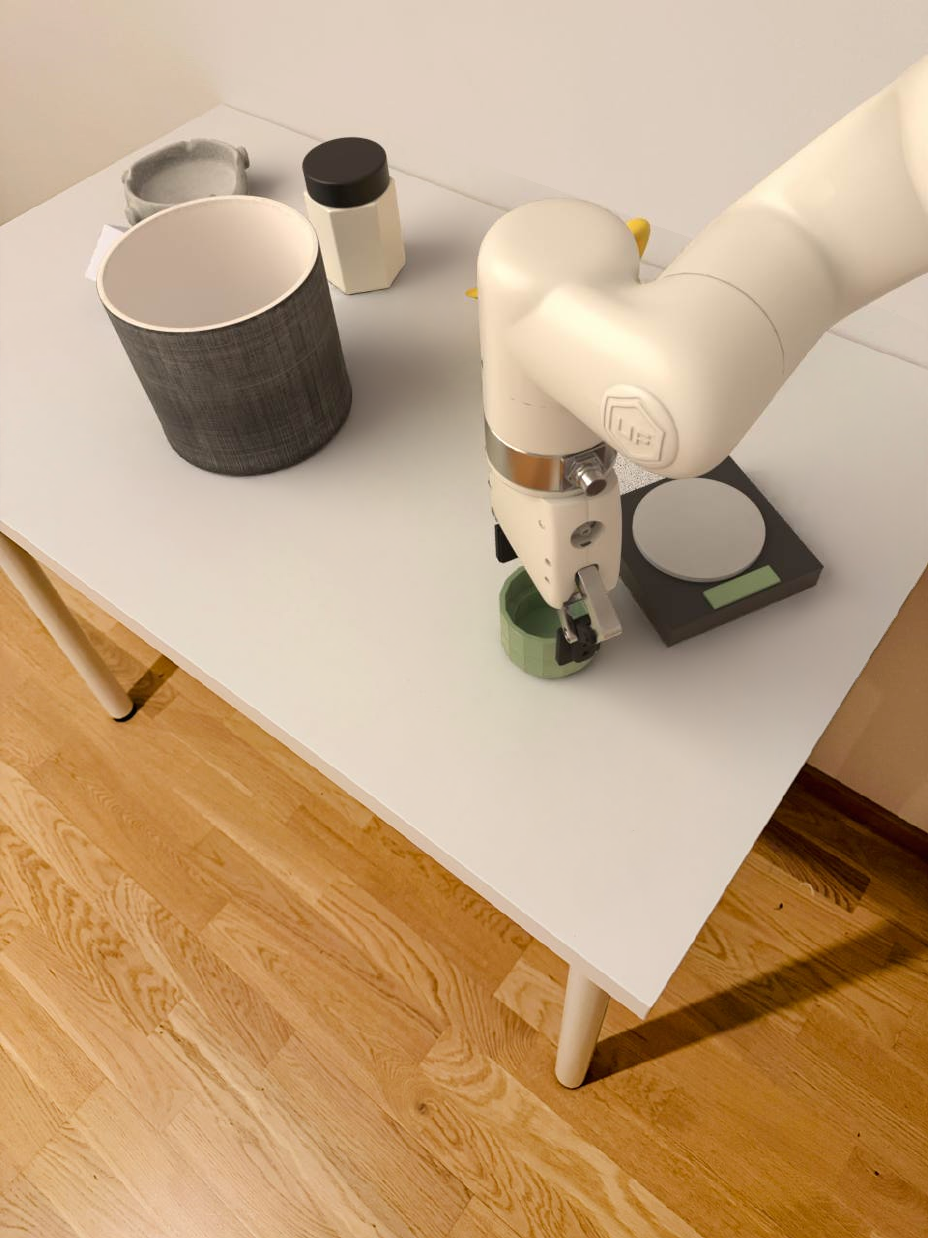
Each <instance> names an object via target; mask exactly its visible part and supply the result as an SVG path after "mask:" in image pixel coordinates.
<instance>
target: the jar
mask: <svg viewBox="0 0 928 1238" xmlns="http://www.w3.org/2000/svg"><path fill="white" fill-rule="evenodd" d="M388 164H389V163H388V157H387V153H386V150H385V149H384V147H383V146H382V145H381V144H380V143H378V142H377V141H374V140H372V139H369V138H365V137H358V136H346V137H345V136H344V137H337V138H334V139H330V140H327V141H324V142H322V143H320V144H318V145H316V146H314V147H313V148H312V149H310V150H309V151H308V152H307V153H306V154H305V156H304V158H303V159H302V164H301V169H302V173H303V178H304V183H305V186H306V189H305V190H304V191H303V198H304V202H305V206H306V211H307V216H308V220H309V221H310V222H311V224H312V225H313V227H314V229H315V230H316V233H317V236H318V240H319V245H320V249H321V254H322V258H323V263H324V267H325V272H326V276H327V281H328V282H330V283H331V284H332V285H333V286H335V287H336V288H337V289H338V290H340V291H341V292H342V293H344V294H345V295H352V294H358V293H359V294H360V293H365V292H371V291H379V290H384V289H389V288H390V287H391V285H392V284H393V283H394V281H395V279H396V278H397V276H398V275H399V273H400V272H401V271H402V269H403V267H404V265H405V264H406V261H407V260H406V253H405V245H404V239H403V232H402V231H403V230H402V223H401V217H400V210H399V201H398V195H397V187H396V180H395V178H394V177H393V176H391V175H390V171H389V165H388Z"/></svg>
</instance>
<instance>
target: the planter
mask: <svg viewBox="0 0 928 1238" xmlns="http://www.w3.org/2000/svg"><path fill="white" fill-rule="evenodd" d="M129 228H130V229H129V230H128V231H126V232H125V233H124V234H123V235H122V236H120V237H119V238H118V239H117V240H116V241H115V242H114V244H113V245H112V246H111V247H110V248H109V250H108V251H107V252H106V254H105V256H104V257H103V259H102V261H101V263H100V266H99V268H98V272H97V278H96V282H95V283H96V285H95V286H96V290H97V295H98V297H99V299H100V301H101V303H102V306H103V308H104V309H105V312H106V314H107V316H108V319H109V320H110V322H111V324H112V326H113V328H114V331H115V332H116V333H115V334H116V335H117V337H118V339H119V341H120V343H121V345H122V347H123V349H124V352H125V353H126V356H127V358H128V360H129V361H130V364H131V365H132V367H133V370H134V371H135V374H136V376H137V378H138V380H139V382H140V385H141V387H142V389H143V390H144V392H145V394H146V396H147V398H148V401H149V403H150V404H151V406H152V409H153V410H154V412H155V414H156V417H157V420H158V421H159V423H160V425H161V428H162V430H163V433H164V435H165V437H166V440H167V442H168V443H169V445H170V447H171V449H173V450H174V451H175V453H176V454H177V455H178V456H179V457H180V458H182V459H183V460H184V461H185V462H187V463H189V464H191V465H193V466H194V467H196V468H198V469H201V470H203V471H206V472H211V473H213V474H219V475H226V476H251V475H260V474H261V475H262V474H264V473H270V472H274V471H275V472H276V471H278V470H281V469H284V468H288V467H290V466H292V465H295V464H296V463H299V462H301V461H303V460H305V459H307V458H309V457H310V456H312V455H314V454H315V453H316V452H318V451H319V450H320V449H322V448H323V447H324V446H326V445H327V444H328V443H329V442H330V441H331V440H332V439H333V438H334V437H335V436H336V435H337V434H338V432H339V431H340V429H342V427H343V426H344V423H345V421H346V420H347V418H348V415H349V413H350V411H351V406H352V400H353V389H352V384H351V380H350V375H349V373H348V369H347V365H346V360H345V355H344V352H343V347H342V341H341V337H340V333H339V328H338V327H339V326H338V324H337V318H336V314H335V309H334V305H333V300H332V295H331V291H330V286H329V280H327V276H326V272H325V267H324V263H323V258H322V254H321V249H320V245H319V240H318V236H317V233H316V230H315V229H314V227H313V225H312V224H311V222H310V220H309V218H307V217H306V216H305V215H304V214H303V213H301V211H299V210H297V209H295V208H294V207H292V206H290V205H288V204H286V203H284V202H281V201H278V200H275V199H271V198H267V197H262V196H256V195H248V196H246V195H226V196H215V197H208V198H202V199H197V200H193V201H188V202H185V203H181V204H178V205H175V206H172V207H170V208H167V209H165V210H162V211H160V212H158V213H156V214H154V215H151V216H150V217H148V218H146V219H144V220H142V221H141V222H139V223H137V224H136V225H135V226H133V227H132V226H131V227H129Z"/></svg>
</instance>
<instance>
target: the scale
mask: <svg viewBox="0 0 928 1238" xmlns="http://www.w3.org/2000/svg"><path fill="white" fill-rule="evenodd" d="M620 499H621V510H622V542H621V559H620V570H619V578H620V579H621V580H622V582H623V584H624V586H625V587H626V588H627V590H628V591H629V593H630V594H631V596H632V597H633V598H634V600H635V602H636V603H637V604H638V606H639V607H640V609H641V611H643V613H644V615H645V616H646V617H647V619H648V621H649V622H650V623H651V625H652V626H653V629H655V631H656V632H657V634H658V636H659V637H660V638H661V640H662V641H663V643H664V644H665V646H666V647H667V648H670V647H672V646H675V645H678V644H680V643H682V642H685V641H687V640H689V639H691V638H694V637H696V636H699V635H701V634H704V633H706V632H709V631H711V630H713V629H715V628H718V627H720V626H723V625H725V624H728V623H730V622H732V621H734V620H737V619H739V618H741V617H744V616H746V615H748V614H751V613H753V612H755V611H758V610H760V609H763V608H765V607H768V606H770V605H773V604H775V603H777V602H779V601H781V600H784V599H787V598H788V597H791V596H793V595H796V594H799V593H801V592H803V591H805V590H808V589H810V588H813V587H815V586H817V583H818V581H819V579H820V576H821V575H822V572H823V569H824V567H825V565H823V563H822V562H821V561H820V560H819V559H818V557H817V556H816V555H815V553H813V552H812V551H811V549H810V548H809V546H807V545H806V543H805V542H804V541H803V540H802V539H801V538H800V536H799V535H798V534H797V533H796V531H795V530H794V529H793V528H792V527H791V526H790V525H789V523H788V522H787V521H786V520H785V518H783V516H782V515H781V514H780V513H779V512H778V511H777V509H776V508H775V507H774V506H773V505H772V504H771V502H770V501H769V500H768V499H767V497H765V495H764V494H763V493H762V492H761V491H760V489H759V488H758V487H757V486H756V485H755V483H754V482H753V481H752V480H751V479H750V477H748V475H747V474H746V473H745V472H744V470H743V469H742V468H741V467H740V466H739V465H738V463H737V462H736V461H735V460H734V458H732V456H731V455H730V454H729V455H728V456H727V457H726V458H725V459H724V460H723V461H722V462H721V463H720V464H719V465H718V466H716V467H715V468H713V469H712V470H711V471H709V472H707V473H705V474H703V475H700V476H697V477H694V478H689V479H671V478H666V477H663V478H662V479H659V480H656V481H654V482H651V483H649V484H646V485H644V486H641V487H638V488H635V489H633V490H631V491H627V492H625V493H623V494H620Z"/></svg>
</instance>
